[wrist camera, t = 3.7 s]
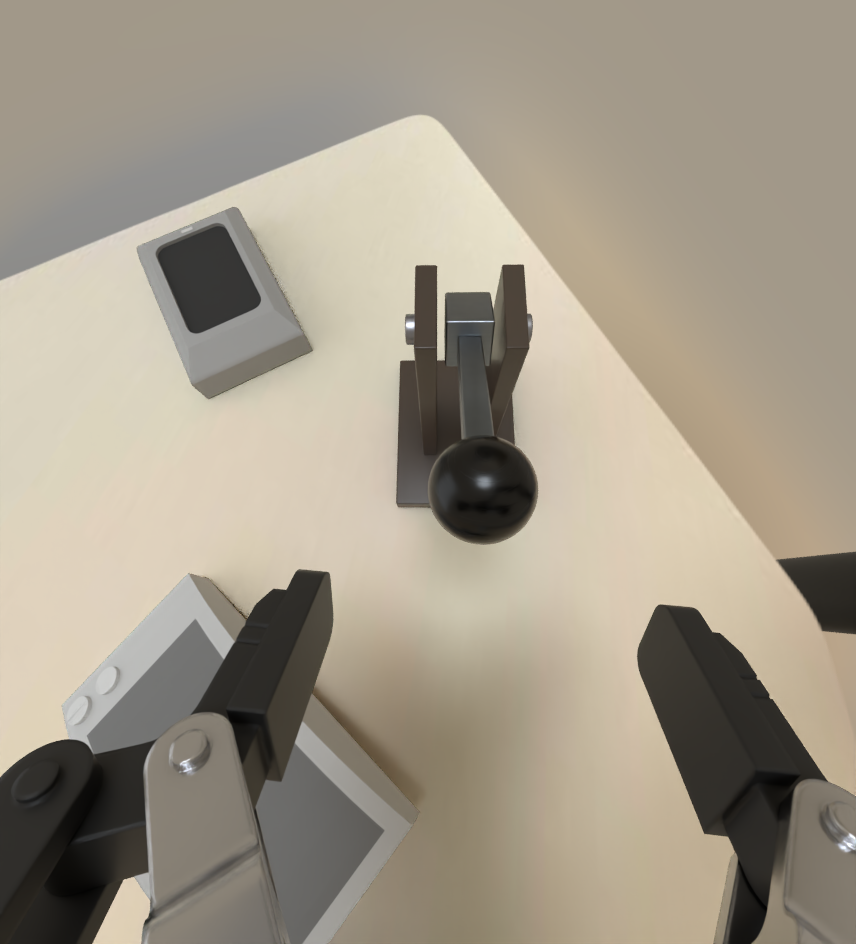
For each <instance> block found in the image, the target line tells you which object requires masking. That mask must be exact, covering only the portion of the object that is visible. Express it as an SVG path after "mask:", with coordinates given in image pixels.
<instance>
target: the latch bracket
mask: <svg viewBox="0 0 856 944" xmlns="http://www.w3.org/2000/svg"><path fill="white" fill-rule="evenodd" d="M493 312H494V318H495V328H494V337H493V346H492V354H491V363H490V366H485V367H486V375H487V383H488V390H489V398H490V406H491V414H492V422H493V430H494V436H495V437H499V438H502V439H504V440H507V441H509V442H510V443H512V444H514V445H515V441H514V422H513V403H512V392H513V390H514V387H515V384H516V382H517V379H518V376H519V374H520V371H521V369H522V366H523V363H524V361H525V358H526V355H527V353H528V350H529V343H530V340H531V336H532V328H533V321H532V315H531V314H527V305H526V290H525V275H524V265H503V266H502V270H501V275H500V280H499V285H498V290H497V295H496V300H495V305H494V310H493ZM405 336H406V344H407V345H414V354H415V361H400V390H399V425H398V460H397V495H396V503H397V506H398V507H431V506H430V503H429V498H428V481H429V476H430V473H431V470H432V467H433V465H434V463H435V462H436V460H437V459H438V457H439V456H440V455H441V454H442V452H443V451H444V450H445V449H447V448H448V447H449V446H450V445H452V444H453V443H455V442H457V441H459V440H461V439H462V437H461V418H460V400H459V381H458V366H446V365H445V361H437V266H436V265H421V266H416V267H415V314H407V315H406V317H405Z"/></svg>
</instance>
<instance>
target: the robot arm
mask: <svg viewBox="0 0 856 944" xmlns="http://www.w3.org/2000/svg"><path fill="white" fill-rule="evenodd" d="M332 627H333V604H332V592H331V580H330V574H329V572H322V571H311V570H301V569H299V570H297V571H296V573H295V574H294V576H293V578H292V580H291V582H290V584H289V586H288V588H287V590H281V589H273V590H272V591H270V592H269V593H268V594H267V595H266V596H265V597H264V598H262V599H261V600H260V601H259V602H258V603H257V604H256V605H255V607H254V608H253V610H252V612H251V614H250V615H249V617H248V619H247V621H246V622H245V626H244V627H243V628H242V629H241V631H240V633H239V634H238V636H237V638H236V642H235V643H233V645H232V647H231V648H230V650H229V652H228V654H227V655H226V657H225V659H224V661H223V662H222V664H221V666H220V667H219V669H218V671H217V673H216V674H215V676H214V678H213V680H212V681H211V683H210V685H209V687H208V688H207V690H206V692H205V693H204V695H203V697H202V699H201V700H200V702H199V704H198V705H197V707H196V708H195V710H194V711H193V712H192V713H191V715H190V716H187V717H185V718H183V719H181V720H179V721H178V722H176V723H175V724H173V725H172V726H170V727H169V728H168V729H167V730H166V731H164V732H163V734H162V735H161V736H160V737H159V738H157V739H155V740H153V741H150V742H146V743H143V744H139V745H134V746H130V747H125V748H121V749H116V750H112V751H107V752H103V753H98V754H93V752H92V751H91V749H90V747H89V746H88V745H87V744H86V743H84V742H82V741H80V740H74V739H67V740H60V741H56V742H53V743H49V744H47V745H44V746H42V747H40V748H38V749H36V750H34V751H32V752H31V753H29V754H28V755H26V756H25V757H23V758H22V759H20V760H19V761H18V762H16V763H15V764H14V765H13V766H11V767H10V768H9V769H8V770H7V771H6V772H5V773H4V774H3V775H2V776H1V777H0V944H92V943H93V941H94V939H95V937H96V935H97V933H98V931H99V929H100V927H101V925H102V923H103V920H104V918H105V916H106V914H107V912H108V910H109V908H110V906H111V904H112V902H113V900H114V898H115V896H116V894H117V892H118V890H119V888H120V886H121V884H122V882H123V880H124V879H127V878H131V877H134V876H138V875H141V874H144V873H148V872H149V882H150V913H149V916H148V918H147V919H146V920H145V923H144V926H143V932H142V943H141V944H290V940H289V936H288V933H287V929H286V925H285V922H284V918H283V914H282V910H281V906H280V902H279V898H278V894H277V890H276V886H275V882H274V878H273V874H272V870H271V865H270V861H269V857H268V853H267V849H266V845H265V841H264V837H263V833H262V829H261V825H260V821H259V816H258V812H257V808H256V805H257V802H258V799H259V797H260V794H261V791H262V789H263V786H264V783H265V780H269V781H277V782H282V779H283V776H284V773H285V770H286V767H287V764H288V761H289V758H290V755H291V753H292V750H293V747H294V744H295V741H296V738H297V735H298V732H299V729H300V726H301V723H302V720H303V717H304V714H305V711H306V708H307V705H308V703H309V700H310V697H311V694H312V691H313V688H314V685H315V682H316V679H317V676H318V673H319V670H320V667H321V664H322V661H323V658H324V656H325V653H326V650H327V647H328V644H329V641H330V637H331V633H332ZM637 659H638V667H639V671H640V674H641V677H642V679H643V682H644V684H645V687H646V689H647V692H648V694H649V697H650V699H651V702H652V704H653V707H654V709H655V712H656V714H657V717H658V719H659V722H660V724H661V727H662V729H663V732H664V734H665V737H666V739H667V742H668V744H669V747H670V749H671V752H672V754H673V757H674V759H675V762H676V764H677V767H678V769H679V772H680V774H681V776H682V779H683V781H684V784H685V786H686V789H687V791H688V794H689V796H690V799H691V801H692V804H693V806H694V809H695V811H696V814H697V816H698V819H699V821H700V824H701V826H702V829H703V831H704V834H710V835H719V836H727V837H729V839H730V841H731V843H732V846H733V848H734V850H735V852H734V854H733V855H732V857H731V859H730V862H729V867H728V872H727V877H726V883H725V888H724V893H723V898H722V903H721V908H720V913H719V918H718V923H717V928H716V933H715V938H714V943H713V944H856V796H854V795H853V794H851V793H849V792H848V791H846V790H844V789H843V788H841V787H839V786H837V785H834V784H832V783H830V782H828V781H827V780H826V778H825V777H824V775H823V774H822V773H821V771H820V770H819V768H818V767H817V765H816V764H815V762H814V761H813V759H812V758H811V756H810V755H809V753H808V752H807V750H806V749H805V747H804V746H803V744H802V743H801V741H800V740H799V738H798V737H797V735H796V734H795V732H794V731H793V729H792V728H791V726H790V725H789V723H788V722H787V720H786V719H785V717H784V716H783V714H782V713H781V711H780V710H779V708H778V707H777V705H776V704H775V702H774V701H773V699H770V698H769V693H768V692H767V690H766V689H765V687H764V686H763V684H762V683H761V681H760V680H757V678H756V676H757V675H756V674H755V672H754V671H753V669H752V668H751V666H750V665H749V663H748V662H747V660H746V659H745V657H744V656H743V654H742V653H741V652H740V651H739V650H738V649H737V648H736V647H735V646H733V645H732V644H731V643H730V642H729V641H728V640H727V639H726V638H725V637H724V636H722V635H721V634H720V633H714V632H712V631H711V629H710V628H709V626H708V625H707V623H706V622H705V620H704V618H703V617H702V615H701V614H700V612H699V611H698V610H697V609H695V608H692V607H682V606H671V605H658V606H657V607H656V608H655V610H654V612H653V615H652V617H651V619H650V621H649V624H648V626H647V628H646V631H645V633H644V635H643V638H642V640H641V642H640V644H639V647H638V654H637Z"/></svg>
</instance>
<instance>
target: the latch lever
mask: <svg viewBox="0 0 856 944" xmlns="http://www.w3.org/2000/svg"><path fill="white" fill-rule="evenodd" d="M494 328H495V318H494V312H493V307H492V301H491V295H490V293H489V292H455V293H446V294H445V365H446V366H458V381H459V400H460V418H461V437H462V439H461V440H459V441H457V442H455V443H453V444H452V445H450V446H449V447H448V448H447V449H445V450H444V451H443V452H442V454H441V455H440V456H439V457H438V459H437V460H436V462H435V463H434V465H433V467H432V470H431V473H430V476H429V481H428V498H429V503H430V506H431V509H432V512H433V514H434V516H435V517H436V519H437V521H438V522H439V523H440V525H441V526H442V527H443V528H444V529H445V530H446V531H447V532H449V533H450V534H451V535H453V536H454V537H456V538H458V539H460V540H462V541H465V542H468V543H472V544H481V545H486V544H494V543H498V542H501V541H504V540H506V539H508V538H510V537H512V536H514V535H515V534H516V533H518V532H519V531H520V530H521V529H522V528H523V527H524V526H525V525H526V524H527V522H528V521H529V519H530V518H531V516H532V514H533V512H534V509H535V507H536V503H537V498H538V482H537V477H536V474H535V471H534V468H533V466H532V464H531V462H530V461H529V459H528V458H527V457H526V455H525V454H524V453H523V452H522V451H521V450H520V449H519V448H518V447H516V446H515V445H514V444H512V443H510V442H509V441H507V440H504V439H502V438H499V437H495V436H494V430H493V422H492V414H491V406H490V398H489V390H488V383H487V375H486V367H485V366H490V363H491V354H492V346H493V337H494Z"/></svg>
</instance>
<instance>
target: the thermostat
mask: <svg viewBox="0 0 856 944" xmlns="http://www.w3.org/2000/svg"><path fill="white" fill-rule="evenodd" d="M245 622H246V620H245V619H244V618H243V616H242V615H241V614H240V613H239V612H238V611H237V610H236V609H235V608H234V607H233V605H232V604H231V603H230V602H229V601H228V600H227V599H226V598H225V597H224V595H223V594H222V593H221V592H220V591H219V590H218V589H217V588H216V587H215V586H214V584H213V583H212V582H211V581H210V580H209V579H208V578H205V577H201V576H197V575H193V574H189V573H188V574H187V575H186V576H185V577H184V578H183V579H182V580H181V581H180V582H179V583H178V584H177V585H176V587H175V588H174V589H173V590H172V591H171V592H170V593H169V594H168V595H167V596H166V597H165V598H164V599H163V600H162V601H161V602H160V603H159V604H158V605H157V606H156V607H155V608H154V609H153V611H152V612H151V613H150V614H149V615H148V616H147V617H146V618H145V619H144V620H143V621H142V622H141V623H140V624H139V625H138V626H137V627H136V628H135V629H134V630H133V631H132V632H131V633H130V635H129V636H128V637H127V638H126V639H125V640H124V641H123V642H122V643H121V644H120V645H119V646H118V647H117V648H116V649H115V650H114V651H113V652H112V653H111V654H110V655H109V656H108V657H107V659H106V660H105V661H104V662H103V663H102V664H101V665H100V666H99V667H98V668H97V669H96V670H95V671H94V672H93V673H92V674H91V675H90V676H89V677H88V678H87V679H86V680H85V682H84V683H83V684H82V685H81V686H80V687H79V688H78V689H77V690H76V691H75V692H74V693H73V694H72V695H71V696H70V697H69V698H68V699H67V700H66V701H65V702H64V703H63V704H62V709H63V714H64V719H65V724H66V729H67V732H68V736H69V739H74V740H80V741H82V742H84V743H86V744H87V745H88V746H89V747H90V749H91V751H92V752H93V754H98V753H103V752H107V751H112V750H116V749H121V748H125V747H130V746H134V745H139V744H143V743H146V742H150V741H153V740H155V739H157V738H159V737H160V736H161V735H162V734H163V732H164V731H166V730H167V729H168V728H169V727H170V726H172V725H173V724H175V723H176V722H178V721H179V720H181V719H183V718H185V717H187V716H190V715H191V713H192V712H193V711H194V710H195V708H196V707H197V705H198V704H199V702H200V700H201V699H202V697H203V695H204V693H205V692H206V690H207V688H208V687H209V685H210V683H211V681H212V680H213V678H214V676H215V674H216V673H217V671H218V669H219V667H220V666H221V664H222V662H223V661H224V659H225V657H226V655H227V654H228V652H229V650H230V648H231V647H232V645H233V643H235V642H236V638H237V636H238V634H239V633H240V631H241V629H242V628H243V627H244V626H245ZM256 808H257V812H258V816H259V821H260V825H261V829H262V833H263V837H264V841H265V845H266V849H267V853H268V857H269V861H270V865H271V870H272V874H273V878H274V882H275V886H276V890H277V894H278V898H279V902H280V906H281V910H282V914H283V918H284V922H285V925H286V929H287V933H288V936H289V940H290V944H328V943H329V942H330V940H331V939H332V938H333V936H334V935H335V933H336V932H337V931H338V929H339V928H340V926H341V925H342V924H343V922H344V921H345V919H346V918H347V917H348V915H349V914H350V913H351V911H352V910H353V908H354V907H355V906H356V904H357V903H358V901H359V900H360V899H361V897H362V896H363V894H364V893H365V892H366V890H367V889H368V887H369V886H370V885H371V883H372V882H373V880H374V879H375V878H376V876H377V875H378V873H379V872H380V871H381V869H382V868H383V866H384V865H385V864H386V862H387V861H388V859H389V858H390V857H391V855H392V854H393V852H394V851H395V850H396V848H397V847H398V845H399V844H400V843H401V841H402V840H403V838H404V837H405V836H406V834H407V833H408V831H409V830H410V829H411V827H412V826H413V824H414V822H415V820H416V819H417V817H418V815H419V813H420V812H419V811H418V810H417V809H416V807H415V806H414V805H413V804H412V803H411V802H410V801H409V800H408V799H407V797H406V796H405V795H404V794H403V793H402V792H401V791H400V790H399V789H398V788H397V786H396V785H395V784H394V783H393V782H392V781H391V780H390V779H389V778H388V777H387V775H386V774H385V773H384V772H383V771H382V770H381V769H380V768H379V767H378V765H377V764H376V763H375V762H374V761H373V760H372V759H371V758H370V757H369V756H368V754H367V753H366V752H365V751H364V750H363V749H362V748H361V747H360V746H359V745H358V743H357V742H356V741H355V740H354V739H353V738H352V737H351V736H350V735H349V733H348V732H347V731H346V730H345V729H344V728H343V727H342V726H341V725H340V724H339V722H338V721H337V720H336V719H335V718H334V717H333V716H332V715H331V714H330V713H329V711H328V710H327V709H326V708H325V707H324V706H323V705H322V704H321V703H320V701H319V700H318V699H317V698H316V697H315V696H314V695H313V694H311V697H310V700H309V703H308V705H307V708H306V711H305V714H304V717H303V720H302V723H301V726H300V729H299V732H298V735H297V738H296V741H295V744H294V747H293V750H292V753H291V755H290V758H289V761H288V764H287V767H286V770H285V773H284V776H283V779H282V782H277V781H269V780H265V783H264V786H263V789H262V791H261V794H260V797H259V799H258V802H257V805H256ZM134 877H135V879H136V881H137V882H138V884H139V885H140V887H141V888H142V890H143V891H144V893H145V894H146V895H147V897H148V898H149V900H150V882H149V872H148V873H144V874H141V875H138V876H134Z"/></svg>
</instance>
